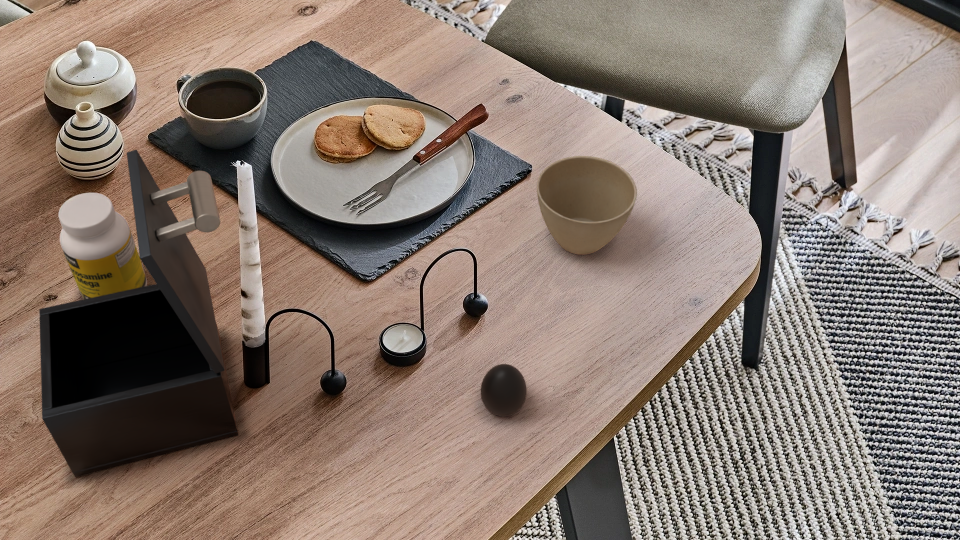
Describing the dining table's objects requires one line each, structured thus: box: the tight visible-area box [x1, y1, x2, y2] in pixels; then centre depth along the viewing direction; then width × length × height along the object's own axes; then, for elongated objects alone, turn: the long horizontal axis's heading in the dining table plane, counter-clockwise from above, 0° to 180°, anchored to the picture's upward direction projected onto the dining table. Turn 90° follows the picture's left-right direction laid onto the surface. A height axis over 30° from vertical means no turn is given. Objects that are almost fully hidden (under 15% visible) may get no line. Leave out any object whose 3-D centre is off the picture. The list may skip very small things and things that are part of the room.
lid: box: [126, 149, 225, 373], centre depth 74 cm, size 14×12×5 cm
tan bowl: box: [536, 155, 638, 256], centre depth 97 cm, size 10×10×7 cm
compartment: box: [38, 283, 240, 478], centre depth 81 cm, size 14×12×9 cm
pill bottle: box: [58, 192, 148, 300], centre depth 89 cm, size 6×6×11 cm
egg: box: [480, 363, 528, 417], centre depth 83 cm, size 4×4×5 cm
